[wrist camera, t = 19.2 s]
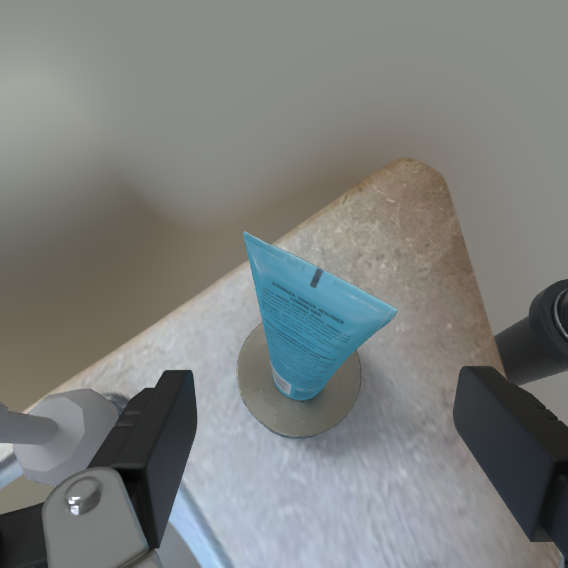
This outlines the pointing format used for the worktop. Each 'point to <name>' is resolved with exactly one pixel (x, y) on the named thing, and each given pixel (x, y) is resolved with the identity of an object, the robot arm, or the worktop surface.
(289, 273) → the tube
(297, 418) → the tea tin
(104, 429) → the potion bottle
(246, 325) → the worktop surface
